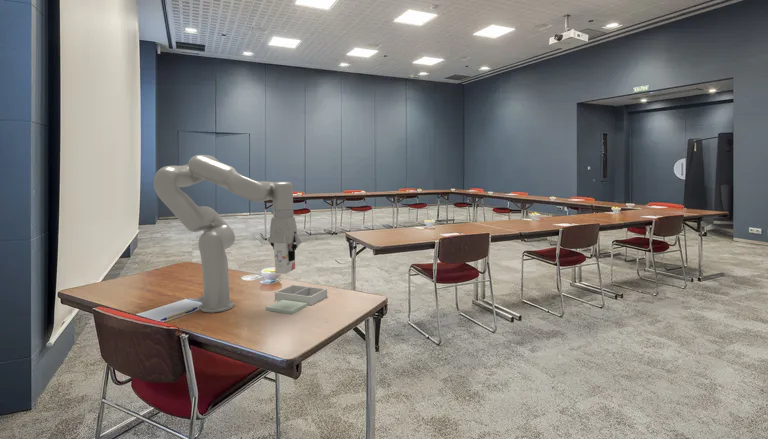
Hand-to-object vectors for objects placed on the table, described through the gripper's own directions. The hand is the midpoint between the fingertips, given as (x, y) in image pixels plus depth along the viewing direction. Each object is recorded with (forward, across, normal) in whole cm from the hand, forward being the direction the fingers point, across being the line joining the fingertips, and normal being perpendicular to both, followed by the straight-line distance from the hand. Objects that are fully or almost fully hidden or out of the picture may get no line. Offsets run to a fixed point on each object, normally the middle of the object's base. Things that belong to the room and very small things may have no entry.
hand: (285, 259), depth 168 cm
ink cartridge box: (+5, 0, 0) cm, 5 cm away
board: (+20, 0, 0) cm, 20 cm away
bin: (+20, -2, +13) cm, 24 cm away
